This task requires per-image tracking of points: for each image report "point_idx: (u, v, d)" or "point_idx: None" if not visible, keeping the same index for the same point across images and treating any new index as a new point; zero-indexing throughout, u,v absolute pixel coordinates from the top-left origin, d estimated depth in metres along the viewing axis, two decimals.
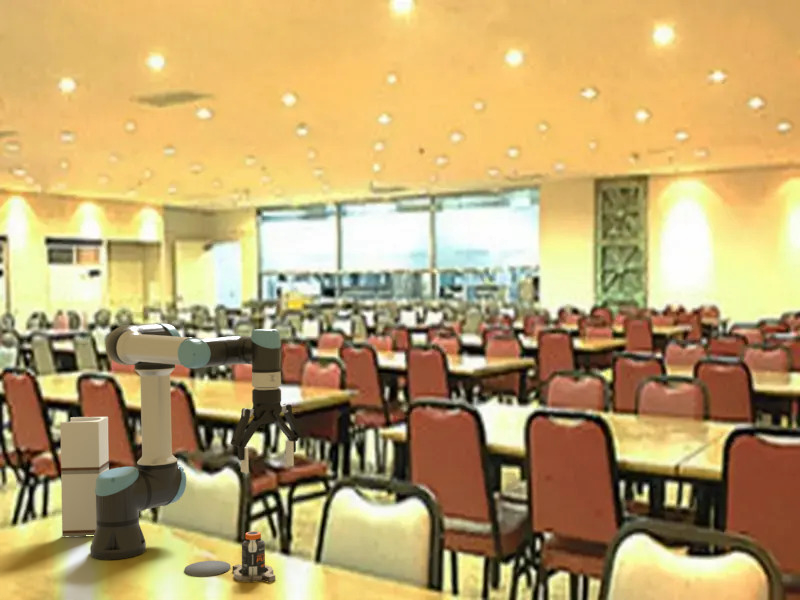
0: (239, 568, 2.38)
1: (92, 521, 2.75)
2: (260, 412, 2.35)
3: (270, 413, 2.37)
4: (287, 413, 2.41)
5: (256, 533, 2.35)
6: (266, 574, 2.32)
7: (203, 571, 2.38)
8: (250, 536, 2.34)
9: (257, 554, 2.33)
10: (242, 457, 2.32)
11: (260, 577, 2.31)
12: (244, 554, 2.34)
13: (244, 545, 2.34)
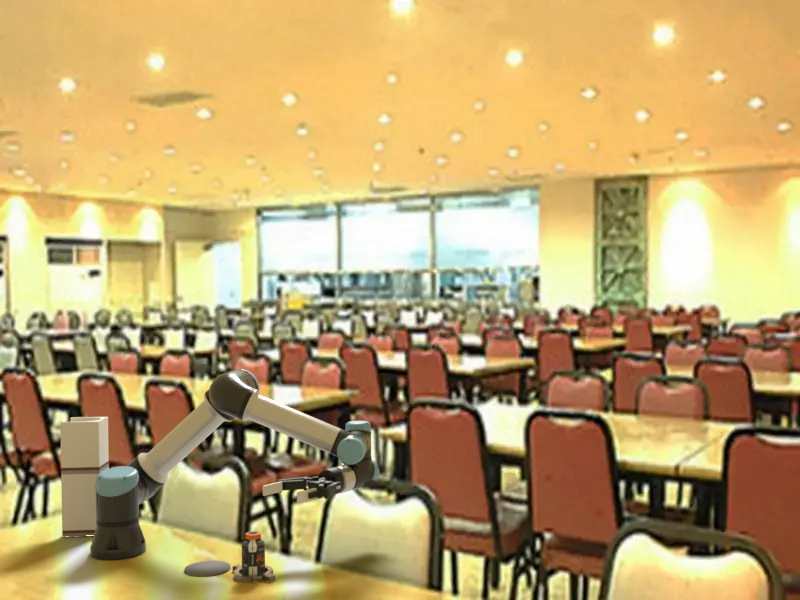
0: (239, 568, 2.38)
1: (92, 521, 2.75)
2: None
3: (320, 480, 2.54)
4: None
5: (256, 533, 2.35)
6: (266, 574, 2.32)
7: (203, 571, 2.38)
8: (250, 536, 2.34)
9: (257, 554, 2.33)
10: None
11: (260, 577, 2.31)
12: (244, 554, 2.34)
13: (244, 545, 2.34)
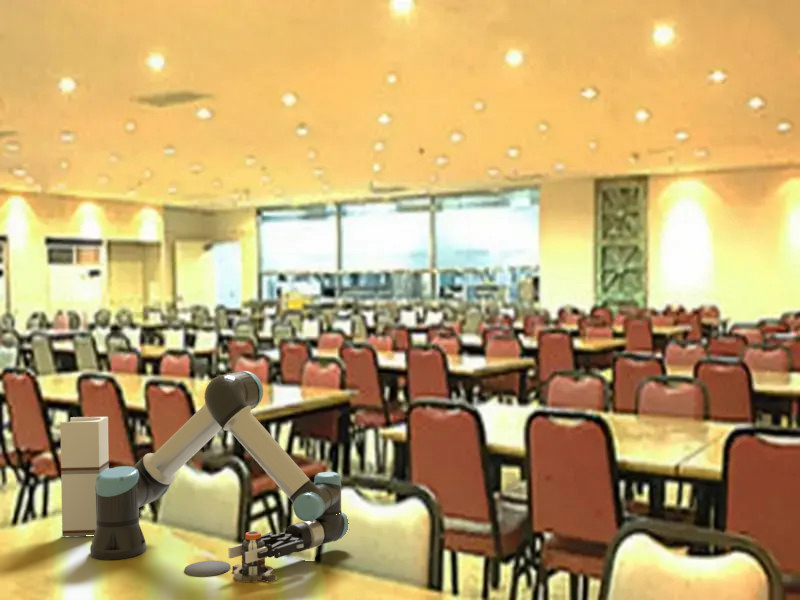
0: (239, 568, 2.38)
1: (92, 521, 2.75)
2: None
3: None
4: None
5: (256, 533, 2.35)
6: (266, 574, 2.32)
7: (203, 571, 2.38)
8: (250, 536, 2.34)
9: None
10: None
11: (260, 577, 2.31)
12: (244, 554, 2.34)
13: (244, 545, 2.34)
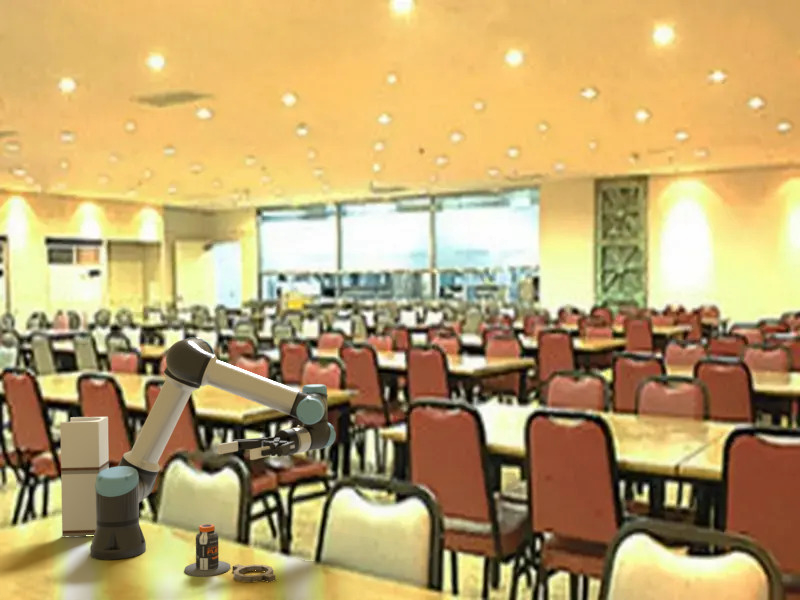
0: (239, 568, 2.38)
1: (92, 521, 2.75)
2: None
3: (275, 440, 2.60)
4: None
5: (209, 526, 2.41)
6: (266, 574, 2.32)
7: (203, 571, 2.38)
8: (202, 528, 2.40)
9: (207, 546, 2.39)
10: None
11: (260, 577, 2.31)
12: (196, 546, 2.40)
13: (197, 537, 2.40)
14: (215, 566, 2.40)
